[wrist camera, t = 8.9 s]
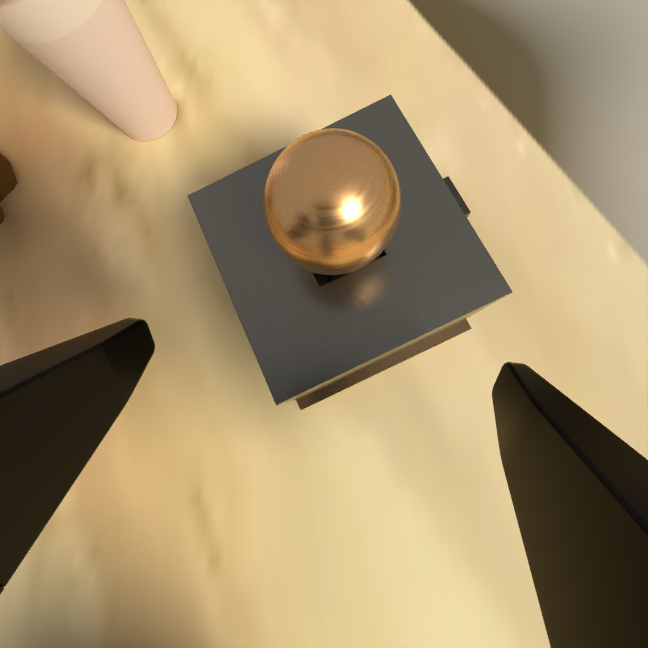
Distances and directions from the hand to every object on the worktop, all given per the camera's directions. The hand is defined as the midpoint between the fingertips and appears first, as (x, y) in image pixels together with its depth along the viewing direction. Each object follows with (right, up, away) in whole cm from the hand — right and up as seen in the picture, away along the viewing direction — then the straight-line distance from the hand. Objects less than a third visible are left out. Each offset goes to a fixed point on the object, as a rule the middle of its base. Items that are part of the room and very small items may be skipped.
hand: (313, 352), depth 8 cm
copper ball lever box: (+1, +2, +9) cm, 10 cm away
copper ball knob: (+1, +3, +8) cm, 8 cm away
